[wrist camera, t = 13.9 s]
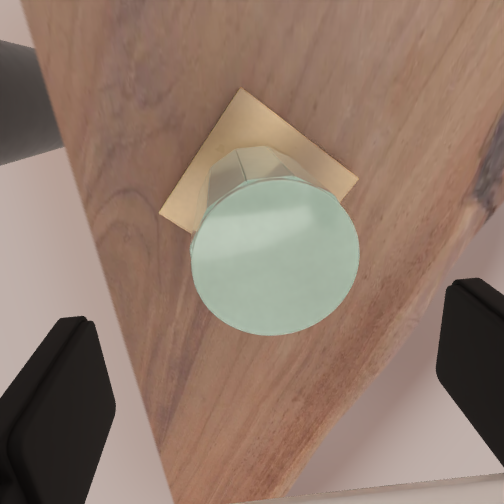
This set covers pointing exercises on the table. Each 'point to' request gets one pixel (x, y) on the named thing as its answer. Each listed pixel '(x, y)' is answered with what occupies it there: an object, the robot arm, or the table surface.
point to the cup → (270, 244)
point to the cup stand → (252, 135)
